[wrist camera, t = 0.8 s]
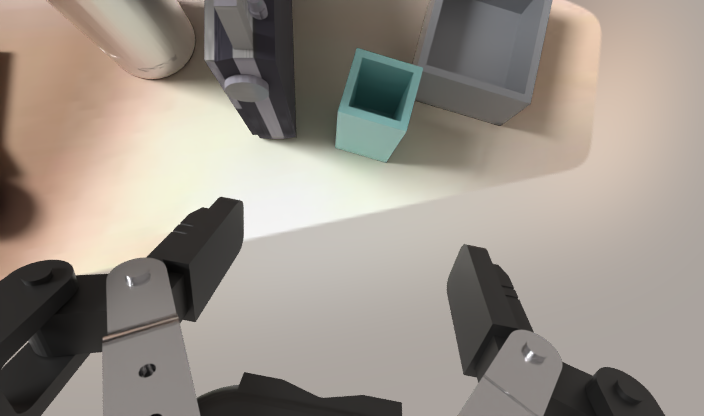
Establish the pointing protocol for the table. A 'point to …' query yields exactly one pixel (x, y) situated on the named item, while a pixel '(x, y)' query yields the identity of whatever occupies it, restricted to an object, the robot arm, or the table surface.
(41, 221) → the table surface
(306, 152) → the table surface
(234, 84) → the radio
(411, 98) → the box
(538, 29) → the big crate
